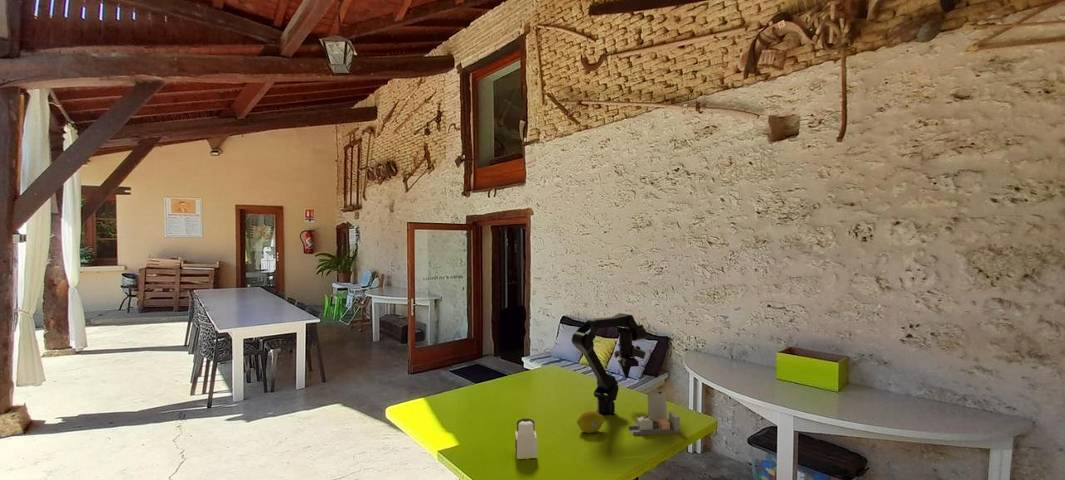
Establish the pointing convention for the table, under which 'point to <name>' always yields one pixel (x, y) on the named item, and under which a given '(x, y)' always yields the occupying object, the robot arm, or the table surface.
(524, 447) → the medicine bottle
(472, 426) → the table surface
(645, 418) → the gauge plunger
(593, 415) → the lemon
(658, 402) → the can
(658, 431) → the gauge bench
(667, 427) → the block
